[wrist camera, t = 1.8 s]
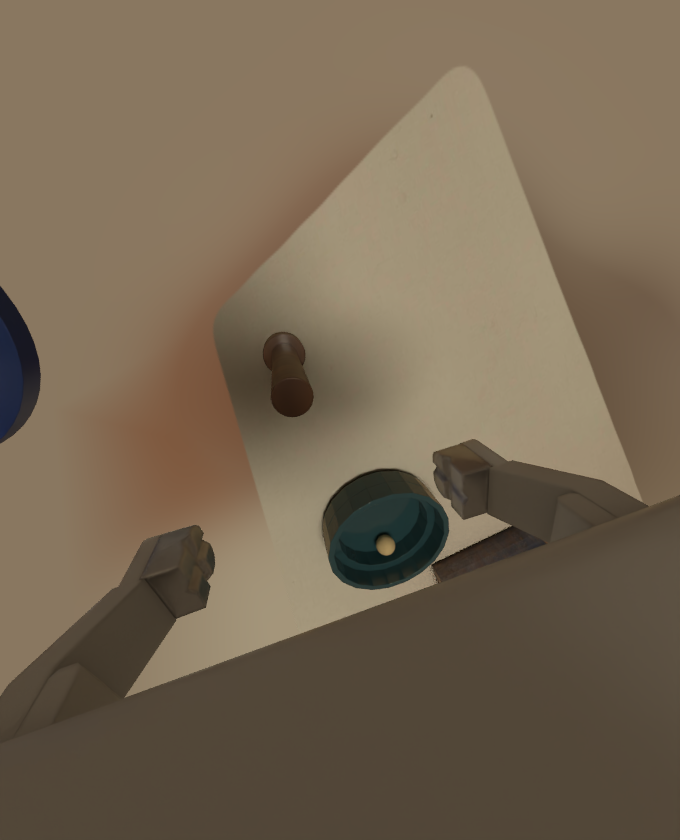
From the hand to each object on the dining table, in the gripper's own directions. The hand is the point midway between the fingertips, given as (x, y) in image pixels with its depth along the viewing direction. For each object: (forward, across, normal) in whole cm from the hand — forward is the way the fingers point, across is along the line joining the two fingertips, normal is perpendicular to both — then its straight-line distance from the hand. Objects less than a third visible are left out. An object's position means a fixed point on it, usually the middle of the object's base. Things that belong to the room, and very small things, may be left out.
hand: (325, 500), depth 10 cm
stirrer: (+25, 0, -1) cm, 25 cm away
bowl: (+25, -7, +27) cm, 37 cm away
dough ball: (+23, -7, +31) cm, 39 cm away
